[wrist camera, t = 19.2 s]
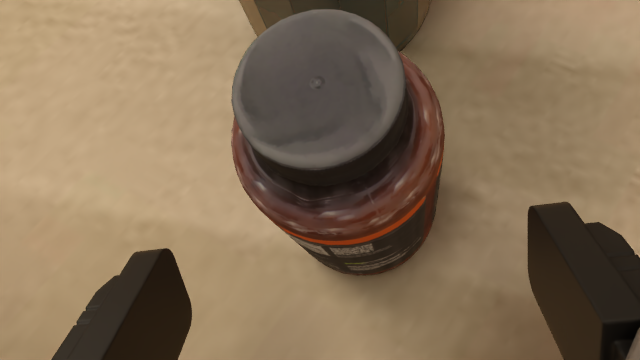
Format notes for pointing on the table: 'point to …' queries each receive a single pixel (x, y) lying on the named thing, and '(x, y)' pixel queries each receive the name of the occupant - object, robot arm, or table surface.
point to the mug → (370, 3)
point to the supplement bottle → (338, 140)
